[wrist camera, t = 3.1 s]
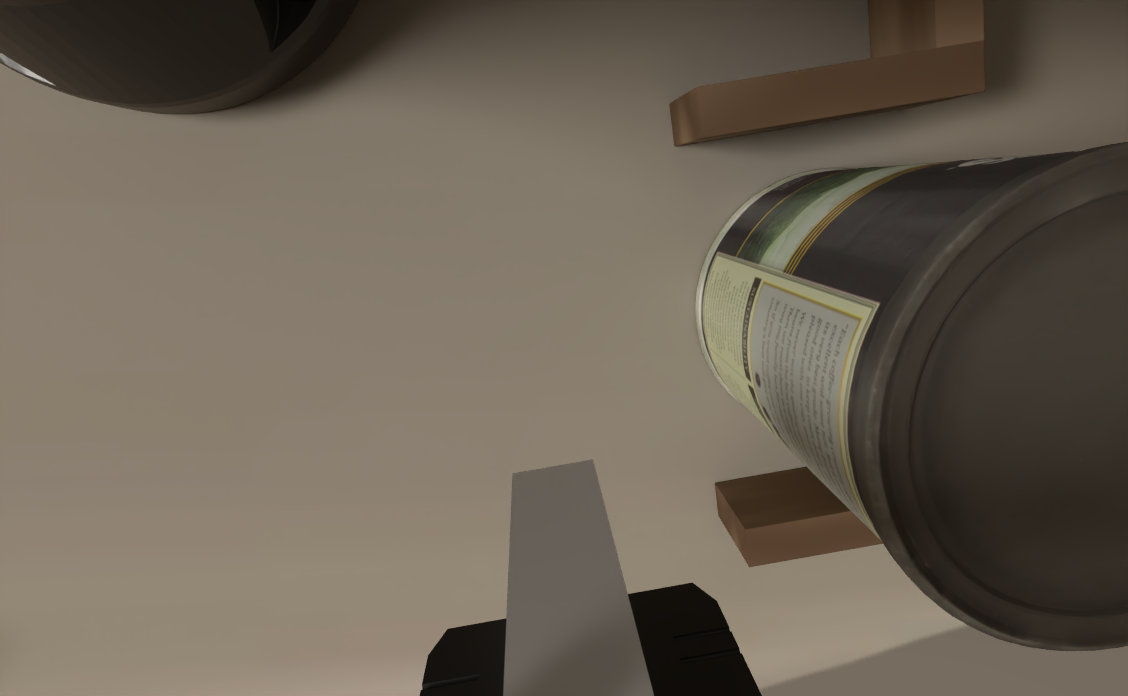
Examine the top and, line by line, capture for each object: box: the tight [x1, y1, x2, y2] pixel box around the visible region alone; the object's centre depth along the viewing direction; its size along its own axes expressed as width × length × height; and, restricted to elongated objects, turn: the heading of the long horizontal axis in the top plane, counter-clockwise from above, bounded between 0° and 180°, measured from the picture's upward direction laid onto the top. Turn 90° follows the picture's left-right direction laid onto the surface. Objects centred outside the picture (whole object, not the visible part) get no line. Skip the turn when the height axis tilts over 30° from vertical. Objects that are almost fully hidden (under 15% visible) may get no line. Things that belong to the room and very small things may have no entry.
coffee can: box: [696, 142, 1128, 651], centre depth 20 cm, size 10×10×14 cm
